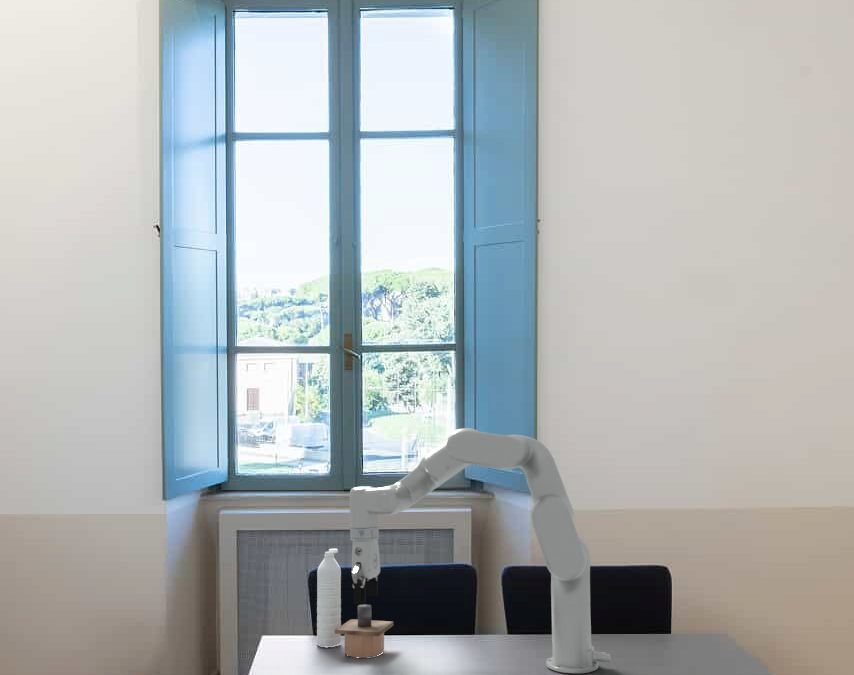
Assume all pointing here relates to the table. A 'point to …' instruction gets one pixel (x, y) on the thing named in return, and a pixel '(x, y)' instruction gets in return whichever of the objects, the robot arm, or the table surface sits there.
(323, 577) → the water bottle
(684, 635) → the table surface
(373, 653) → the bowl
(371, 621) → the lid
